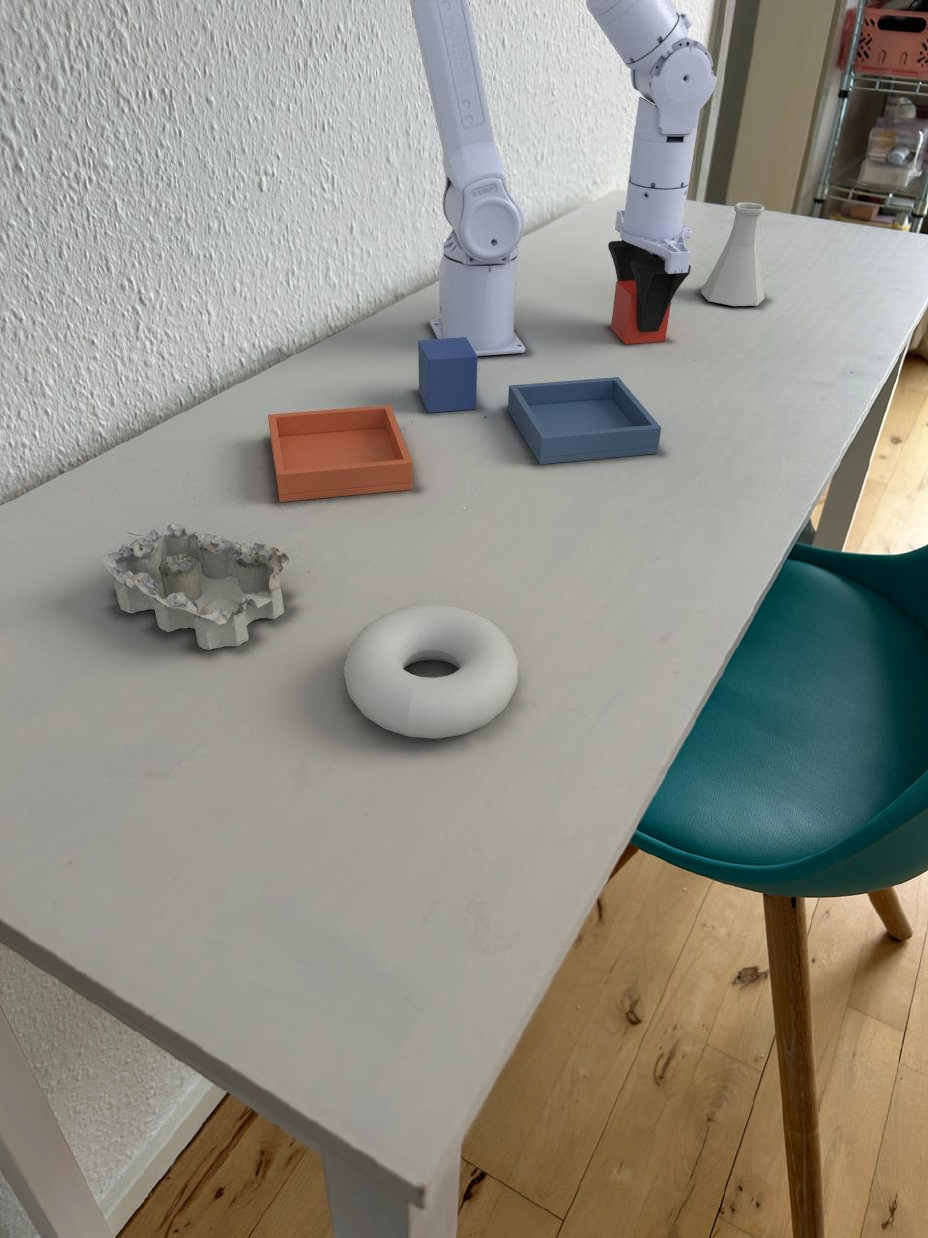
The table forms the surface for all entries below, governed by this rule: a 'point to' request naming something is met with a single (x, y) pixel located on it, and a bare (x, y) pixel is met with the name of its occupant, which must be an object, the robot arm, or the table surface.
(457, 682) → the donut
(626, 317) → the red block
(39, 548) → the table surface
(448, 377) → the blue block
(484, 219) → the robot arm
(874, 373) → the table surface
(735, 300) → the flask
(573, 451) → the blue tray
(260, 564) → the egg carton
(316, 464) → the orange tray
